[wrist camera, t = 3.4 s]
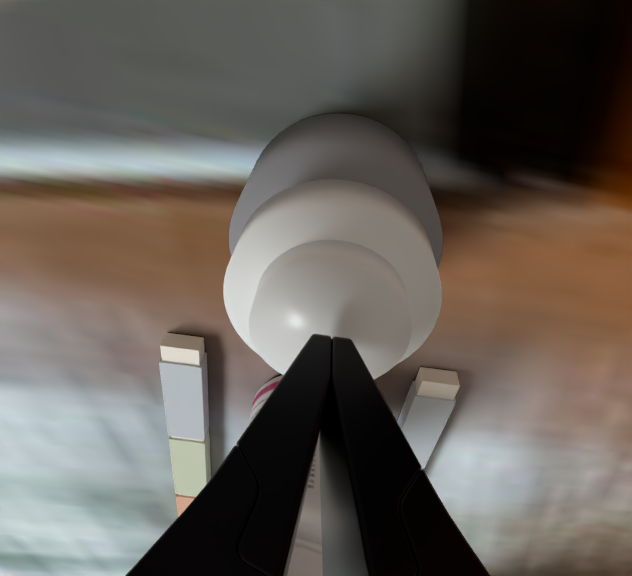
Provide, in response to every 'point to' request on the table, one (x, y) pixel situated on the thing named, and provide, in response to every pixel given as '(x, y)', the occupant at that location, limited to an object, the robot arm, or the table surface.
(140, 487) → the table surface
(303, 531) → the pill bottle
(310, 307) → the dome
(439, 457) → the table surface
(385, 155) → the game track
